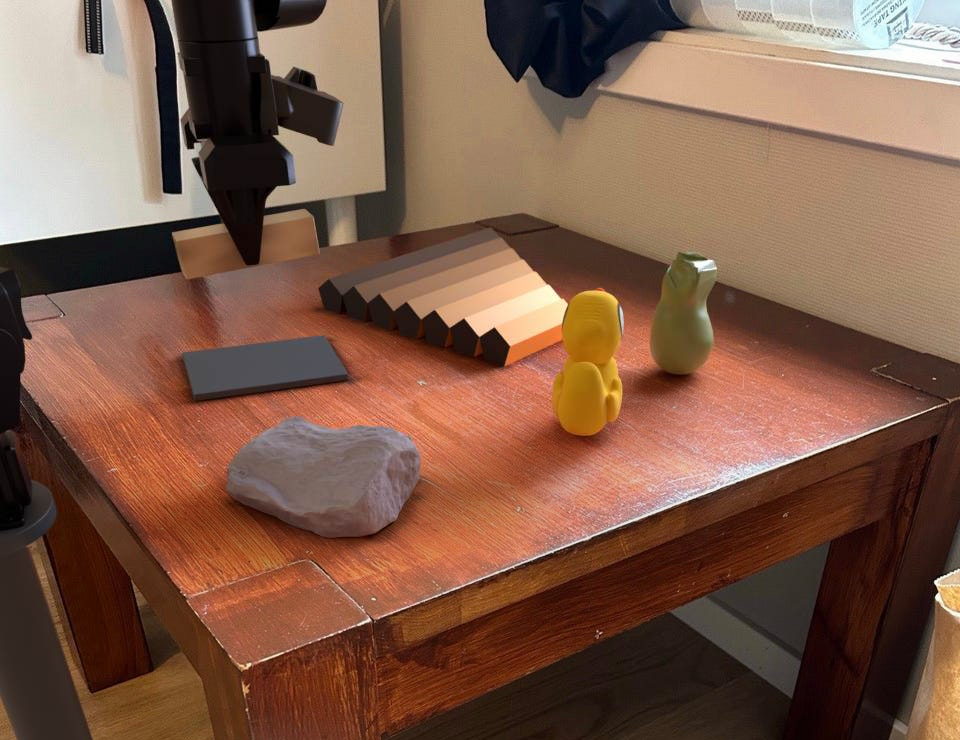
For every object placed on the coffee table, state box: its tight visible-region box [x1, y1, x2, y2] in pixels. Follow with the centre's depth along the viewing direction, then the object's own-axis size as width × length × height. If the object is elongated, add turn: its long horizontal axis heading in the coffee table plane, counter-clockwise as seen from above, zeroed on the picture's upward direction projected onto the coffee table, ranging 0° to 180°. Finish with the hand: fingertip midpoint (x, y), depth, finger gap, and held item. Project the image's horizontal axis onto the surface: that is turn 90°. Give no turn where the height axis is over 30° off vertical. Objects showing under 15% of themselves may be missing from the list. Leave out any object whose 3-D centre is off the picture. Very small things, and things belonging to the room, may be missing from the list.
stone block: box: [225, 415, 422, 539], centre depth 66 cm, size 12×5×10 cm
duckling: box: [552, 287, 625, 437], centre depth 73 cm, size 11×5×10 cm, turn 169°
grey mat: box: [182, 334, 350, 402], centre depth 85 cm, size 13×10×1 cm
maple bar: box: [171, 208, 321, 280], centre depth 79 cm, size 11×3×3 cm, turn 112°
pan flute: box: [317, 226, 569, 367], centre depth 99 cm, size 25×3×25 cm
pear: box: [649, 251, 718, 376], centre depth 82 cm, size 6×5×10 cm
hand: (249, 259), depth 79 cm, fingers closed on maple bar, 3 cm apart
